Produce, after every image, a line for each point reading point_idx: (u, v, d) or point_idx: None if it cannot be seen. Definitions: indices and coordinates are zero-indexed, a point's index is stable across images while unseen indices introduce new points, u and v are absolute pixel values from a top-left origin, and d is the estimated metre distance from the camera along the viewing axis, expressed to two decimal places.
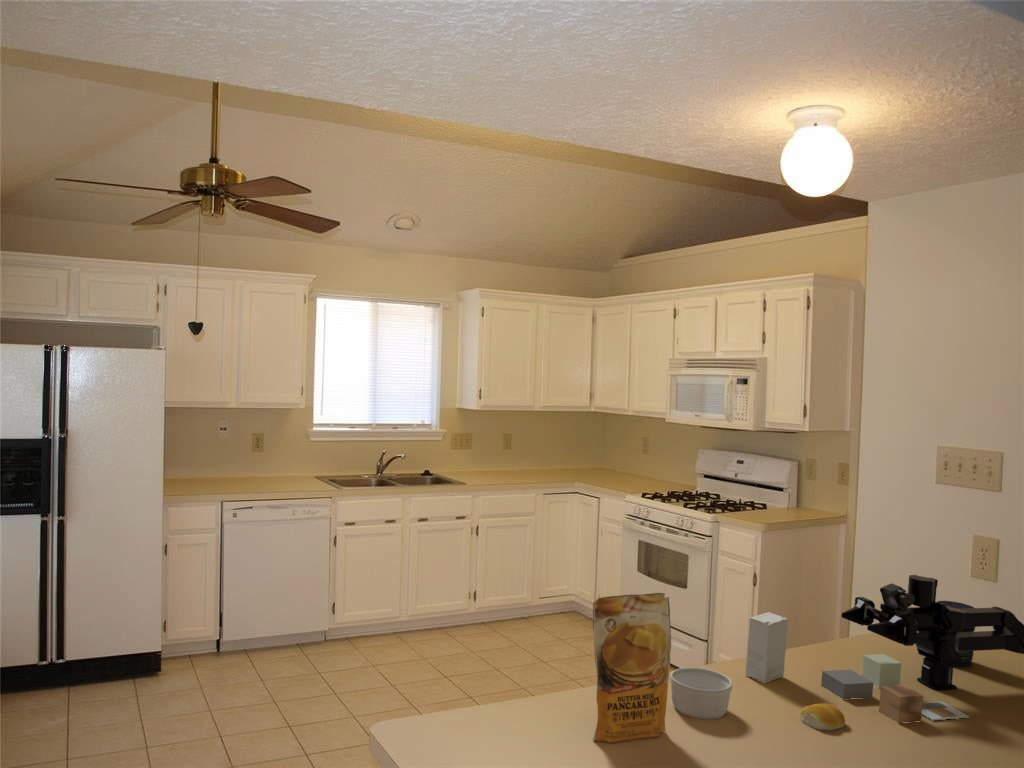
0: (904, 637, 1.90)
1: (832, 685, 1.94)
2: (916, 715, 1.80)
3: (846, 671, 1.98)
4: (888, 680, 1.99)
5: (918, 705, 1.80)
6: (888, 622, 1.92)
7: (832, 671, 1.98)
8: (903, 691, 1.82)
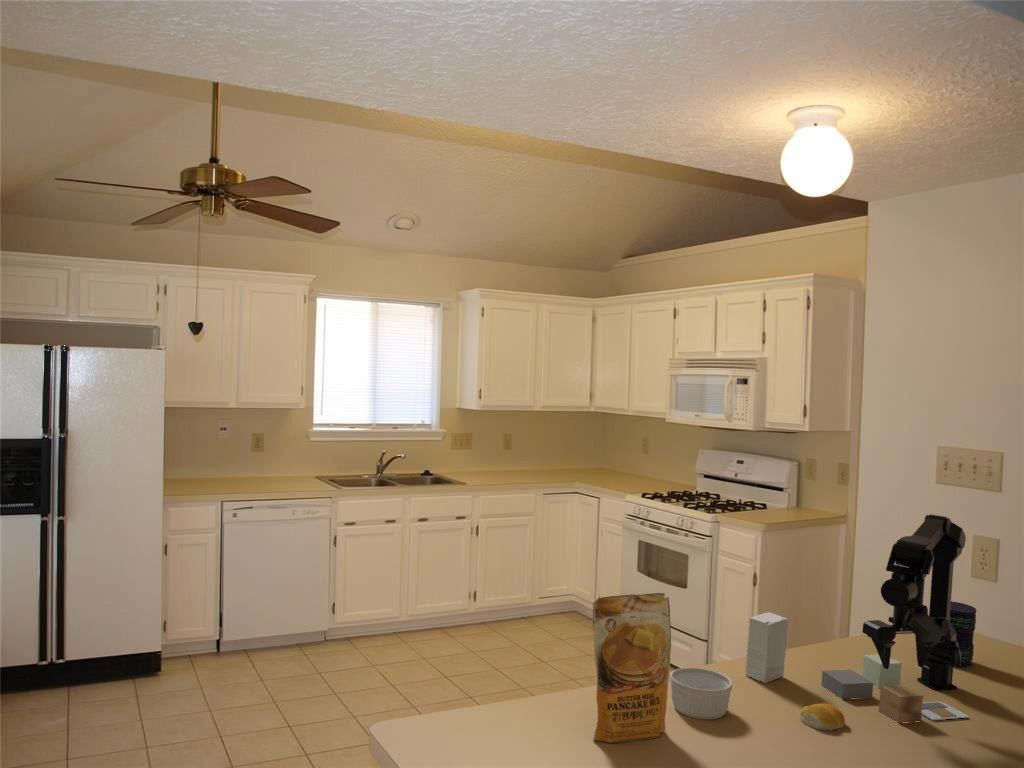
0: None
1: (831, 685, 1.94)
2: (916, 715, 1.80)
3: (847, 671, 1.98)
4: (888, 680, 1.99)
5: (918, 705, 1.80)
6: (930, 647, 1.82)
7: (832, 671, 1.98)
8: (903, 691, 1.82)
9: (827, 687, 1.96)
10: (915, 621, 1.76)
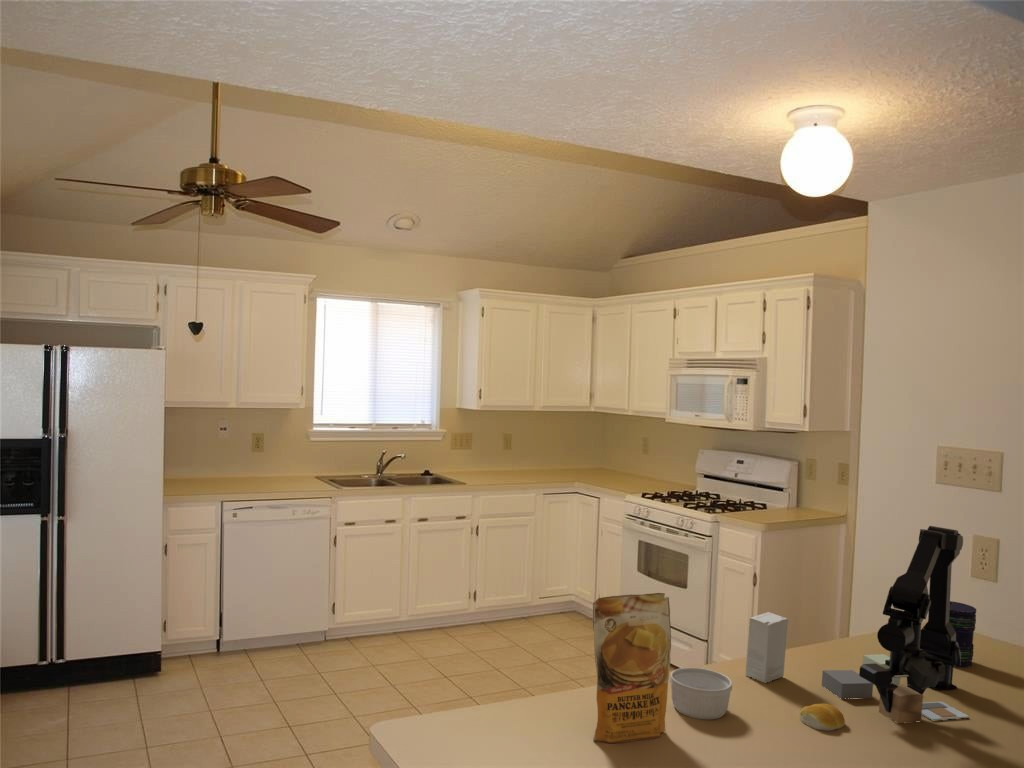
0: None
1: (831, 685, 1.94)
2: (916, 715, 1.80)
3: (847, 671, 1.98)
4: None
5: (918, 705, 1.80)
6: (921, 691, 1.82)
7: (833, 671, 1.98)
8: (903, 690, 1.82)
9: (827, 687, 1.96)
10: (912, 666, 1.76)
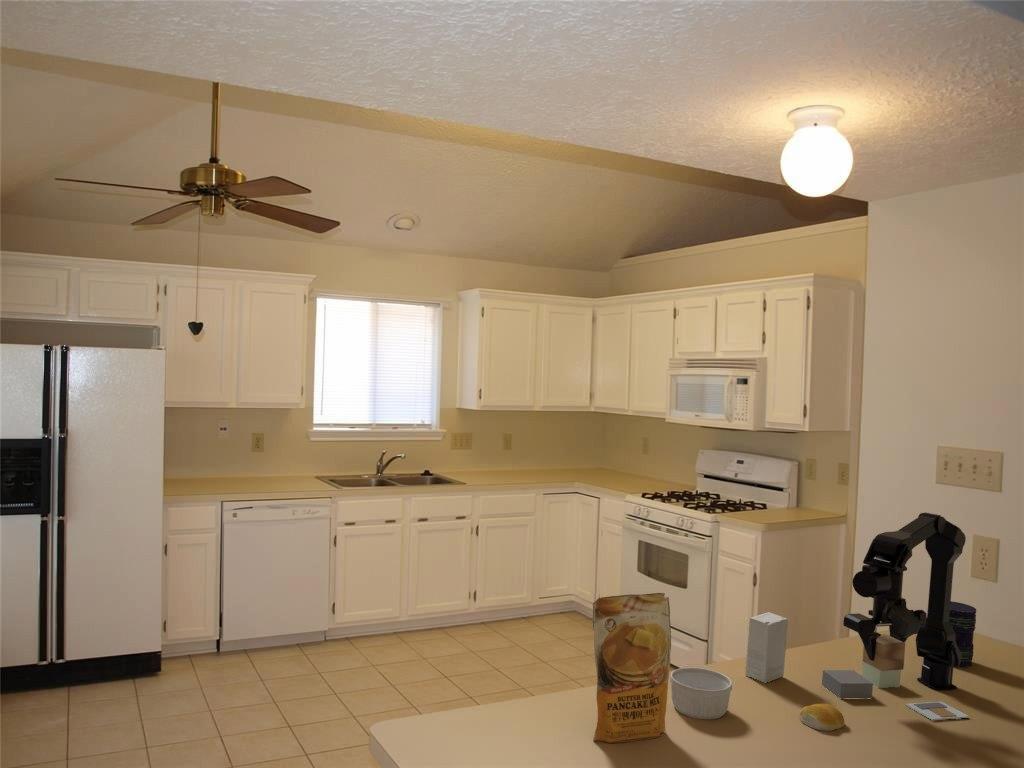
0: None
1: (831, 685, 1.94)
2: (899, 662, 1.84)
3: (848, 671, 1.98)
4: (888, 680, 1.99)
5: (901, 652, 1.84)
6: (904, 639, 1.86)
7: (833, 671, 1.98)
8: (886, 639, 1.87)
9: (827, 687, 1.96)
10: (894, 614, 1.81)
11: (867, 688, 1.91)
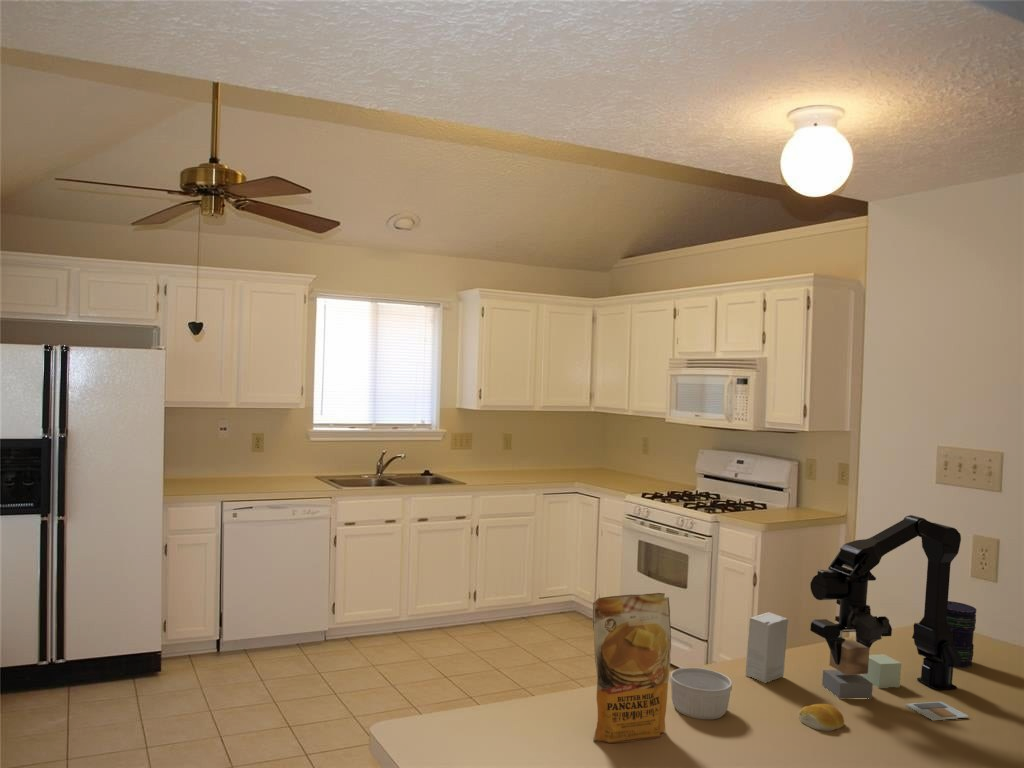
0: None
1: (830, 684, 1.95)
2: (863, 666, 1.92)
3: None
4: (888, 680, 1.99)
5: (865, 657, 1.92)
6: (869, 645, 1.94)
7: (833, 671, 1.98)
8: (851, 644, 1.95)
9: (827, 686, 1.96)
10: (858, 620, 1.89)
11: (867, 688, 1.91)
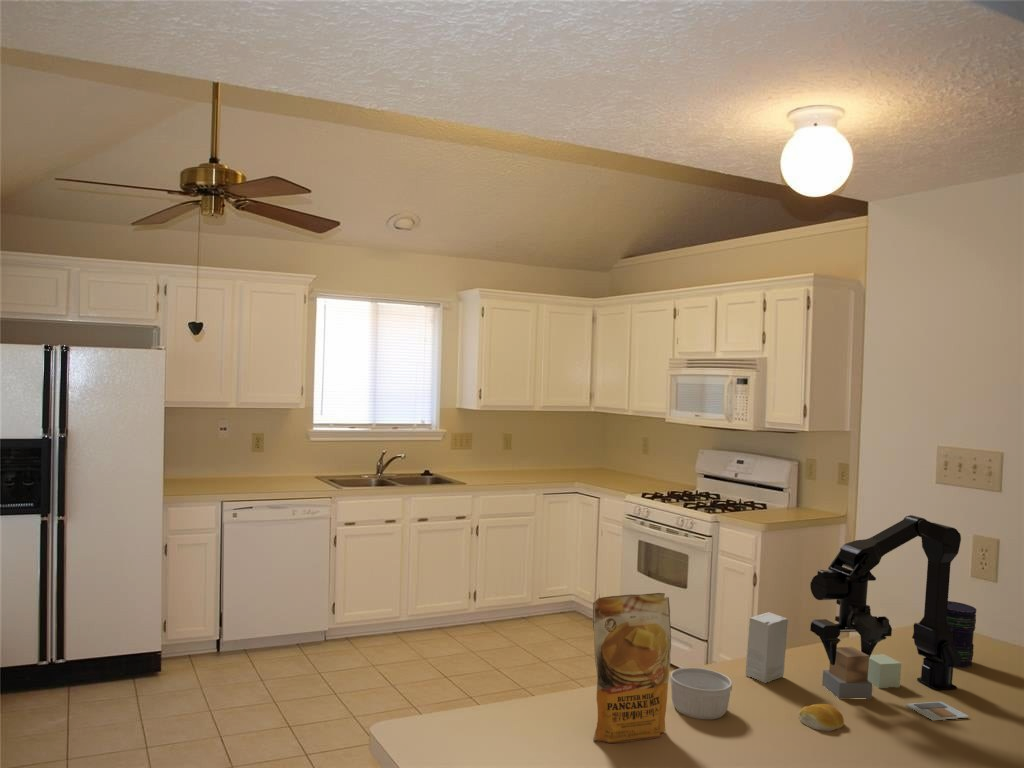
0: None
1: (830, 684, 1.95)
2: (863, 674, 1.92)
3: None
4: (888, 680, 1.99)
5: (865, 665, 1.93)
6: (873, 644, 1.95)
7: None
8: (851, 651, 1.95)
9: (827, 686, 1.96)
10: (858, 620, 1.89)
11: (867, 688, 1.91)
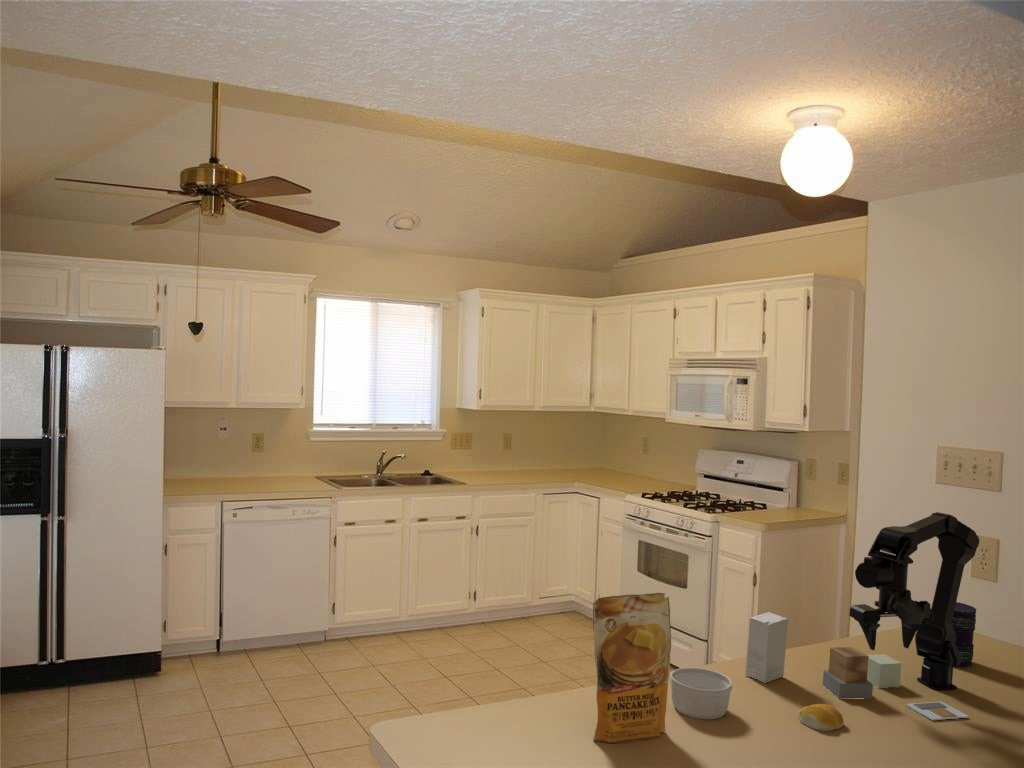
0: None
1: (831, 685, 1.95)
2: (862, 674, 1.93)
3: None
4: (888, 680, 1.99)
5: (864, 665, 1.93)
6: (914, 629, 1.93)
7: None
8: (851, 652, 1.95)
9: (827, 687, 1.96)
10: (898, 605, 1.87)
11: (867, 689, 1.91)
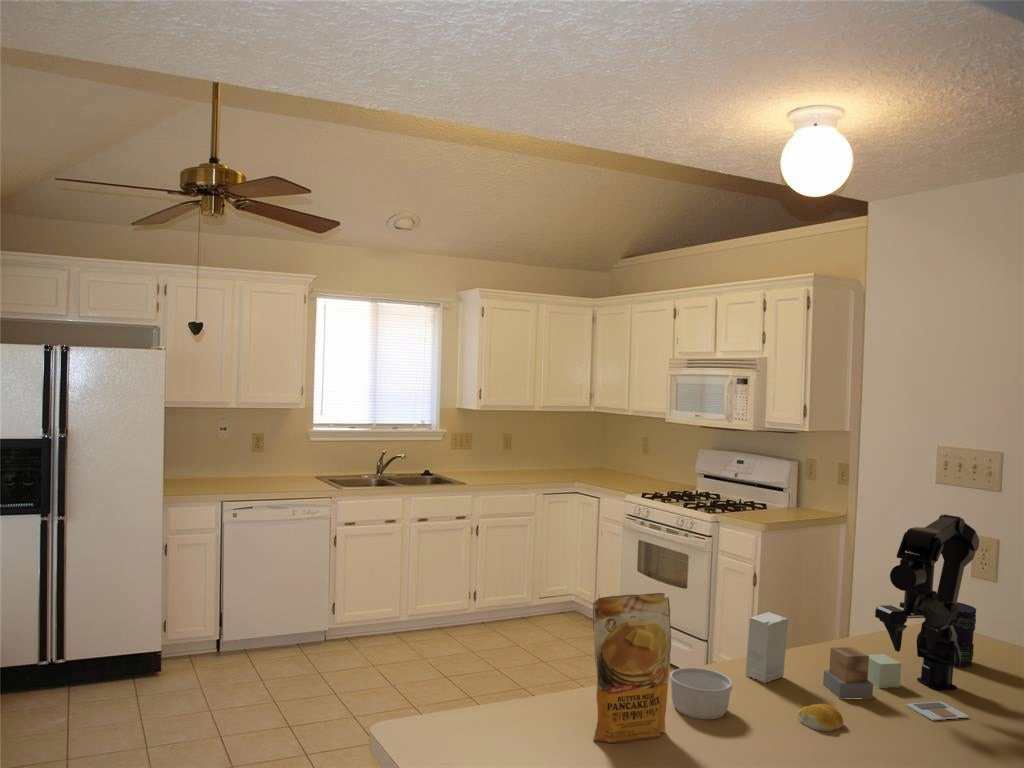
0: None
1: (831, 684, 1.95)
2: (862, 674, 1.92)
3: None
4: (888, 680, 1.99)
5: (864, 665, 1.92)
6: (939, 631, 1.91)
7: None
8: (851, 652, 1.95)
9: (827, 686, 1.96)
10: (925, 606, 1.85)
11: (867, 688, 1.91)
